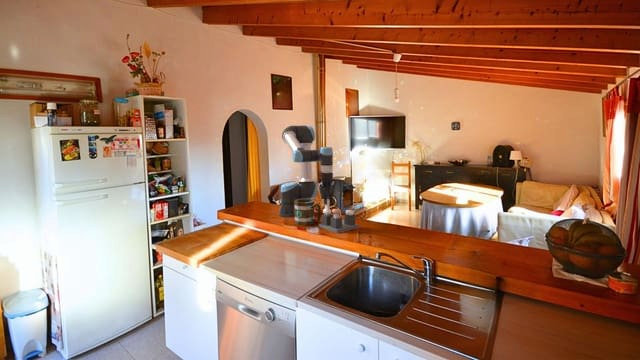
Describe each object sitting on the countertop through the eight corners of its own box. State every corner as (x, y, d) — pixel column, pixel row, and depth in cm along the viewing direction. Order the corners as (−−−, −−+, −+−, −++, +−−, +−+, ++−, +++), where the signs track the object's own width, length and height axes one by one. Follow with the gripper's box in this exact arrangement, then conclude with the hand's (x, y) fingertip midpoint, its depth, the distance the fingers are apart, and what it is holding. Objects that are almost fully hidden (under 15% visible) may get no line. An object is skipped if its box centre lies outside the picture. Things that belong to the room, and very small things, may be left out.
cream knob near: (321, 222, 218) (321, 209, 217) (327, 220, 221) (327, 208, 220) (326, 223, 215) (326, 211, 213) (332, 222, 218) (332, 209, 216)
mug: (290, 223, 228) (289, 201, 226) (302, 219, 239) (302, 198, 237) (314, 228, 217) (313, 204, 215) (326, 223, 228) (326, 201, 225)
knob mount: (318, 226, 220) (318, 214, 219) (339, 222, 231) (339, 210, 230) (336, 233, 206) (336, 220, 205) (358, 227, 217) (358, 215, 216)
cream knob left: (344, 223, 218) (344, 210, 217) (350, 222, 221) (350, 209, 220) (349, 224, 214) (349, 212, 213) (355, 223, 217) (355, 211, 216)
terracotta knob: (330, 222, 211) (330, 209, 210) (336, 221, 214) (336, 208, 213) (336, 224, 207) (335, 210, 206) (342, 222, 210) (342, 209, 209)
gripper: (322, 173, 207) (322, 212, 210) (338, 171, 215) (339, 209, 218) (314, 172, 213) (315, 210, 216) (331, 170, 220) (331, 207, 224)
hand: (327, 209), depth 217 cm, fingers closed
